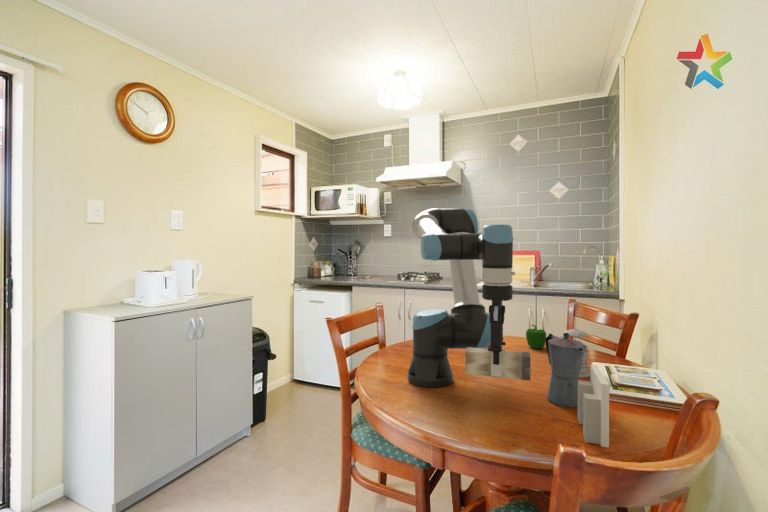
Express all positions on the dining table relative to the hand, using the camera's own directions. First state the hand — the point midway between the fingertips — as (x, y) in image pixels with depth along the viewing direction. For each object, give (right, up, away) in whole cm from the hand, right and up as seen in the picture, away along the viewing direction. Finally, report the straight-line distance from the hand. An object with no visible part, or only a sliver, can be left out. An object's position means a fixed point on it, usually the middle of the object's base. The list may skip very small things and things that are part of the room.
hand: (496, 372), depth 96 cm
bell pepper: (+38, -10, +66) cm, 77 cm away
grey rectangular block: (0, 0, 0) cm, 0 cm away
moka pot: (+22, -11, +10) cm, 27 cm away
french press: (+37, -11, +34) cm, 52 cm away
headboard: (+20, -12, -7) cm, 24 cm away
